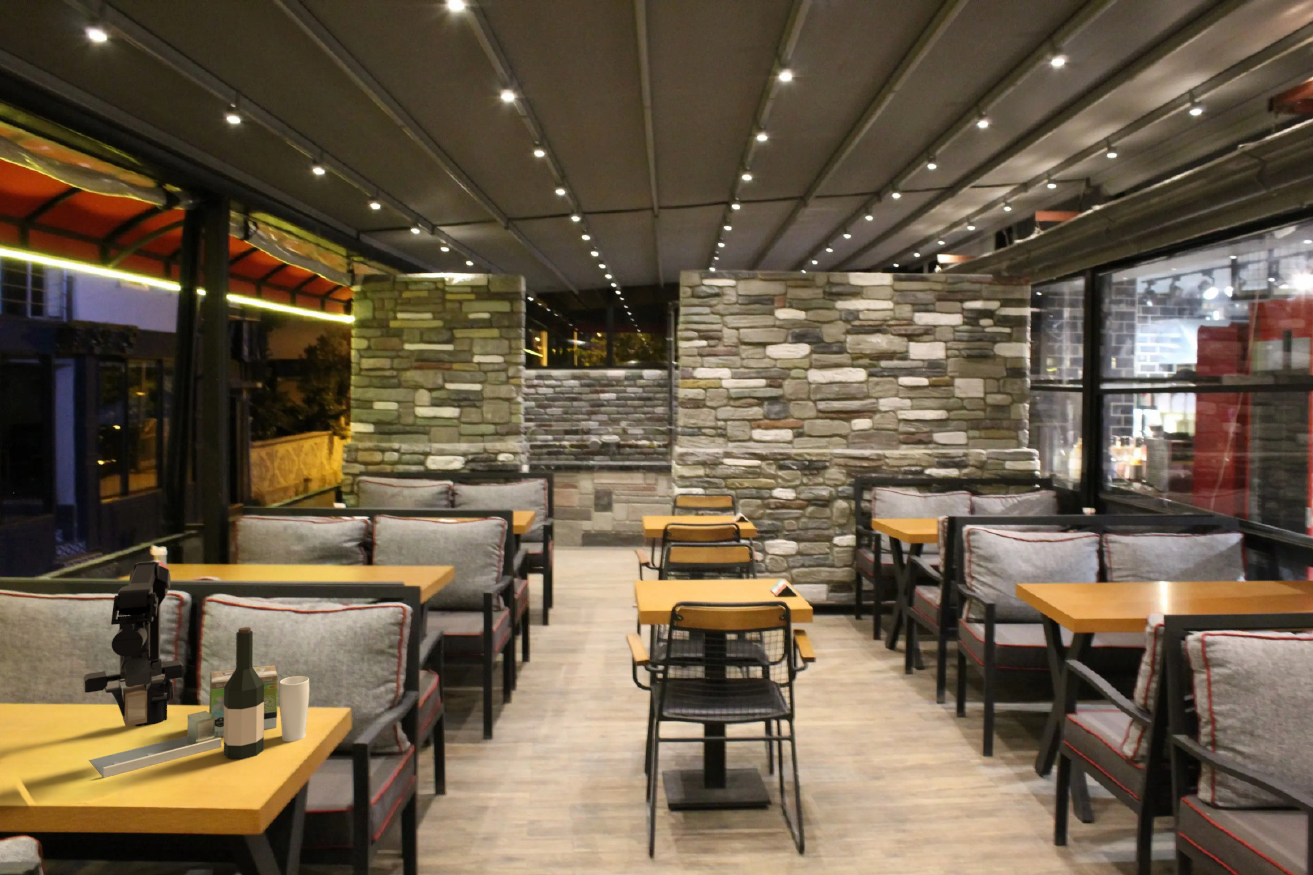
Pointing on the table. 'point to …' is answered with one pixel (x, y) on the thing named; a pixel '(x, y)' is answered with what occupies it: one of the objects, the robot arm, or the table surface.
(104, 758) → the display board
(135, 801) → the table surface
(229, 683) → the wine bottle
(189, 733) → the sage tin
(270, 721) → the tea box
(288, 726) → the drinking glass
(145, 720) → the block
